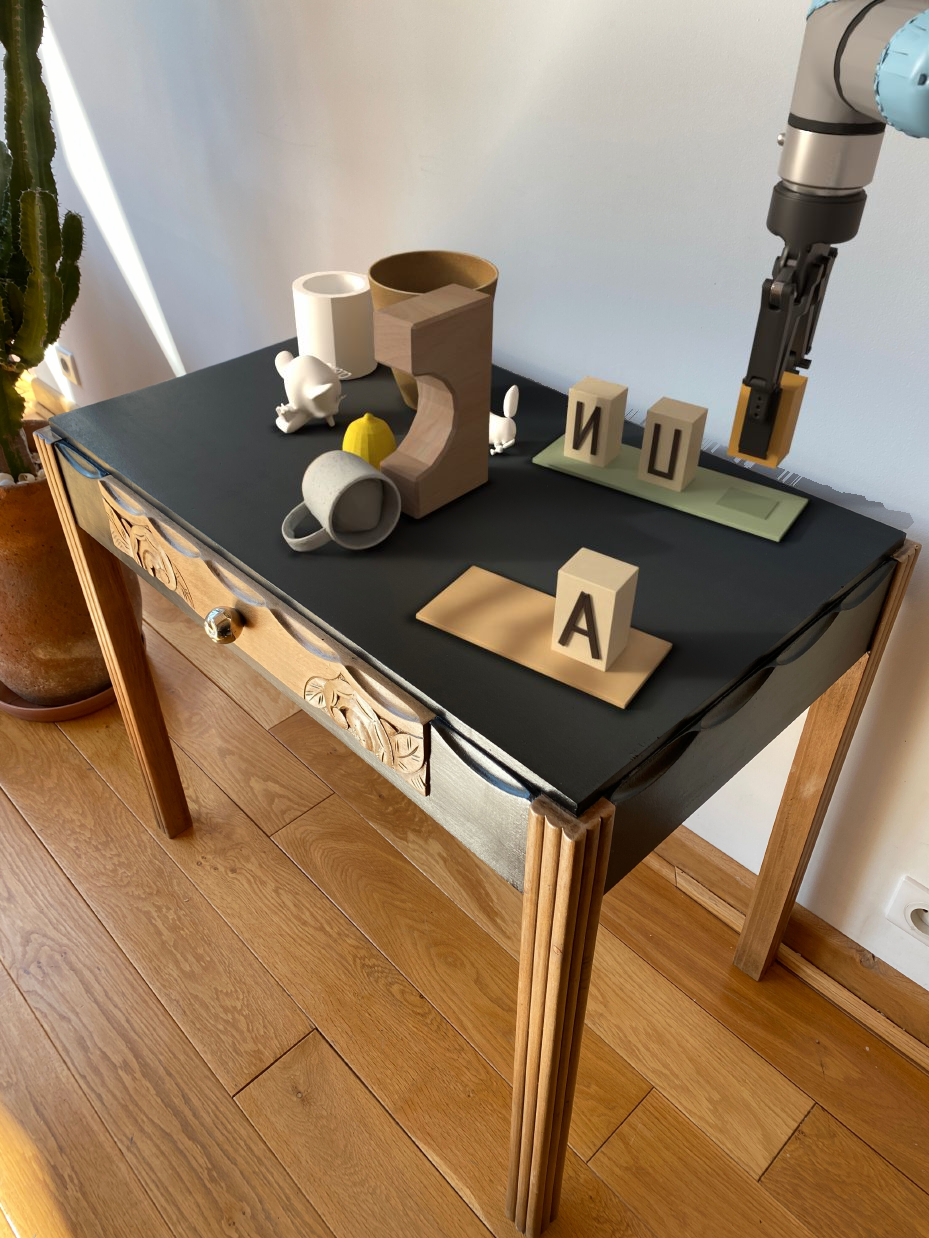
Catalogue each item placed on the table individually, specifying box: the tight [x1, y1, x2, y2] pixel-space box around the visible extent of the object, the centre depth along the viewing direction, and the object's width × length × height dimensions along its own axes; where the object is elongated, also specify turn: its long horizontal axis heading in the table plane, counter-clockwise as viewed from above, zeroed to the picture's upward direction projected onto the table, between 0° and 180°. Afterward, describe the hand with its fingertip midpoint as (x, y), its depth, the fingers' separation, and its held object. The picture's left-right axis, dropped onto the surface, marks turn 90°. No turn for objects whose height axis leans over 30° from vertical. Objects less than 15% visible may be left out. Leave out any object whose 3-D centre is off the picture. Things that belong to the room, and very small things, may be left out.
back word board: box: [532, 432, 809, 543], centre depth 99 cm, size 28×9×1 cm, turn 56°
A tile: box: [551, 547, 640, 672], centre depth 74 cm, size 5×4×8 cm
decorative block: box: [373, 284, 495, 520], centre depth 91 cm, size 11×6×20 cm, turn 136°
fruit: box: [342, 411, 397, 471], centre depth 96 cm, size 6×6×8 cm
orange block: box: [726, 371, 809, 470], centre depth 89 cm, size 5×4×8 cm
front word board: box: [415, 565, 673, 710], centre depth 79 cm, size 20×9×1 cm, turn 56°
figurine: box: [274, 350, 351, 434], centre depth 107 cm, size 12×8×10 cm
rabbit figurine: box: [489, 384, 520, 456], centre depth 105 cm, size 6×4×8 cm
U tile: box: [637, 396, 709, 492], centre depth 97 cm, size 5×4×8 cm
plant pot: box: [366, 249, 500, 411], centre depth 110 cm, size 15×15×16 cm
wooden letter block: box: [564, 375, 629, 468], centre depth 100 cm, size 5×4×8 cm
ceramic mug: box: [281, 449, 402, 552], centre depth 88 cm, size 11×8×8 cm
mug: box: [291, 270, 378, 381], centre depth 121 cm, size 14×10×11 cm
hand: (761, 439), depth 91 cm, fingers closed on orange block, 4 cm apart
